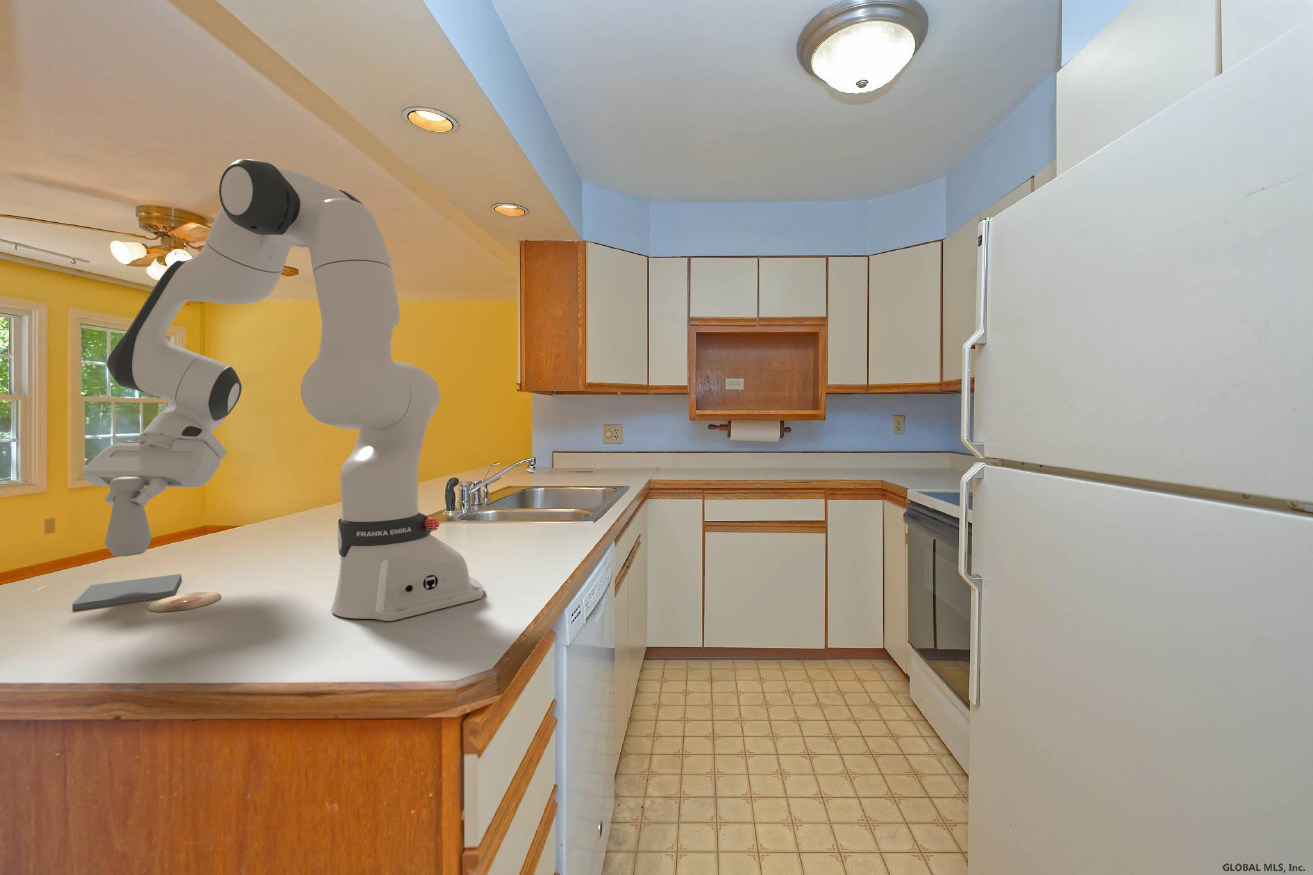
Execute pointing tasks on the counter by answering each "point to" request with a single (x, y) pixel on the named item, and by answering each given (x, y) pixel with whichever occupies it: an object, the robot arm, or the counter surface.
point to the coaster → (184, 601)
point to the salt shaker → (127, 519)
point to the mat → (128, 591)
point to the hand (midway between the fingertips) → (124, 503)
